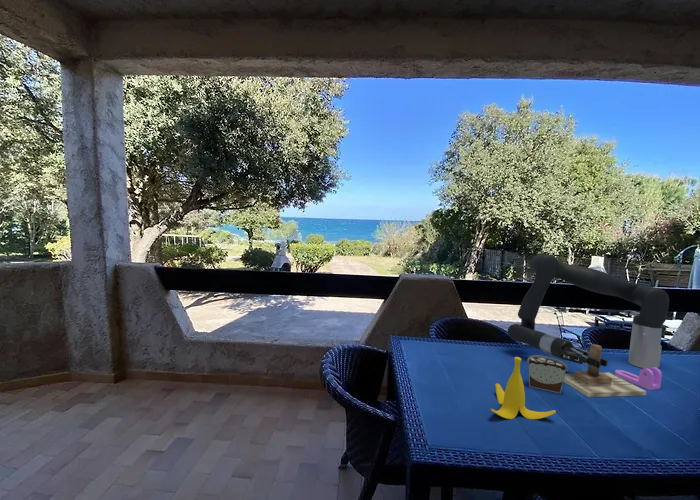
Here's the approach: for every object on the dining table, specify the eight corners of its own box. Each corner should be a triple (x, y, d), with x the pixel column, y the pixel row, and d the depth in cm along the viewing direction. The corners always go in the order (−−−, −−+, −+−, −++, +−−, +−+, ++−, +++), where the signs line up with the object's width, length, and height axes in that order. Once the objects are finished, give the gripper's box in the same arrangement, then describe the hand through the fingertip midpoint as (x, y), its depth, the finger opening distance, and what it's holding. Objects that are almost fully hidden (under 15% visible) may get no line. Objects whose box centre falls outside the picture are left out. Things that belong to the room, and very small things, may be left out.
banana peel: (496, 392, 112) (500, 343, 111) (556, 422, 96) (561, 365, 95) (464, 405, 103) (467, 352, 102) (523, 440, 87) (529, 378, 86)
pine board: (608, 376, 128) (609, 372, 128) (645, 395, 114) (646, 391, 114) (556, 377, 125) (557, 373, 125) (588, 397, 111) (588, 392, 111)
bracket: (660, 388, 120) (662, 369, 119) (649, 390, 118) (652, 371, 117) (621, 372, 132) (623, 355, 131) (611, 374, 130) (613, 356, 130)
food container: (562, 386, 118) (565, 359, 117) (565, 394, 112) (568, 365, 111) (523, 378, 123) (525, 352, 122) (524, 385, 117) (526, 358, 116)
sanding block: (596, 377, 122) (600, 342, 121) (611, 385, 116) (615, 348, 115) (574, 378, 121) (577, 342, 120) (587, 386, 115) (591, 349, 114)
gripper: (544, 338, 128) (591, 356, 112) (568, 335, 134) (617, 351, 118) (542, 357, 129) (589, 377, 113) (567, 353, 134) (614, 372, 118)
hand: (603, 364), depth 115 cm, fingers closed on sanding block, 3 cm apart
